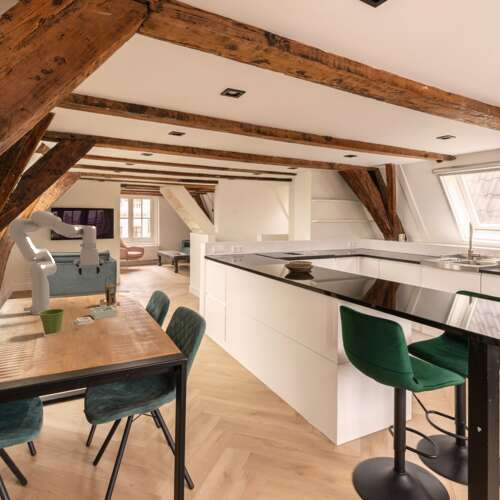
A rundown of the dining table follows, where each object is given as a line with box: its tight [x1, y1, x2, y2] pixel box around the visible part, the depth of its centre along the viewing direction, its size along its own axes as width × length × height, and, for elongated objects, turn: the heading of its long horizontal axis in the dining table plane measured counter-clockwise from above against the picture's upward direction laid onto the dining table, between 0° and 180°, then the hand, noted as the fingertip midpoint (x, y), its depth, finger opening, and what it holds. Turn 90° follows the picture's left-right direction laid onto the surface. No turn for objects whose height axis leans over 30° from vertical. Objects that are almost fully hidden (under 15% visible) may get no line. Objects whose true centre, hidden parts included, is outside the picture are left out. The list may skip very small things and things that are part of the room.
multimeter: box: [104, 274, 121, 308], centre depth 247 cm, size 15×10×20 cm
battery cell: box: [99, 298, 107, 311], centre depth 216 cm, size 4×4×10 cm
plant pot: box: [38, 308, 66, 336], centre depth 185 cm, size 12×12×11 cm
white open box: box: [89, 305, 117, 320], centre depth 216 cm, size 12×12×5 cm
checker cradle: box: [73, 316, 95, 326], centre depth 203 cm, size 9×9×2 cm
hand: (89, 274), depth 221 cm, fingers open, 9 cm apart
